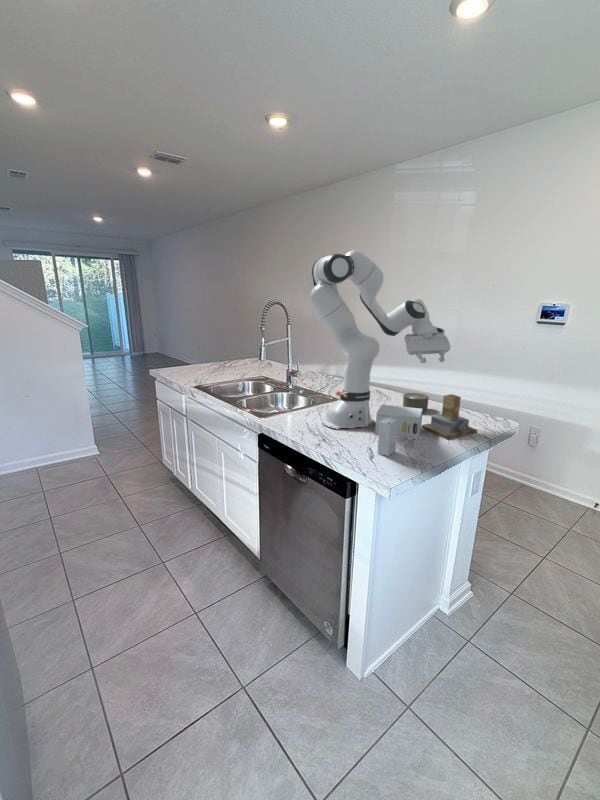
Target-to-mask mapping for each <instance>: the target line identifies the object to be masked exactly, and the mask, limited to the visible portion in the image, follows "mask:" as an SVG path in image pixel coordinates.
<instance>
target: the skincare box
mask: <svg viewBox="0 0 600 800" xmlns="http://www.w3.org/2000/svg"><path fill="white" fill-rule="evenodd" d="M397 426H398V420H397V419H392V418H386V419H384V420H382V421H380V424H379V434H378V439H377V443H378V444H377V454H378V453H379V454H378V455H381V454H383V455H382V456H384V455H386V456H385V457H389V456H390V455H392V454H393V453H394V452H396V450H397V448H396V447H397Z"/></svg>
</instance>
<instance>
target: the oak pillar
mask: <svg viewBox="0 0 600 800" xmlns="http://www.w3.org/2000/svg"><path fill="white" fill-rule="evenodd" d="M461 399H462V397H461V396H459V395H456V394H446V395H443V399H442V410H441V415H442V417H444V418H446V419H449V420H452V419H458V417H460V415H459V414H460V407H461Z"/></svg>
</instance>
